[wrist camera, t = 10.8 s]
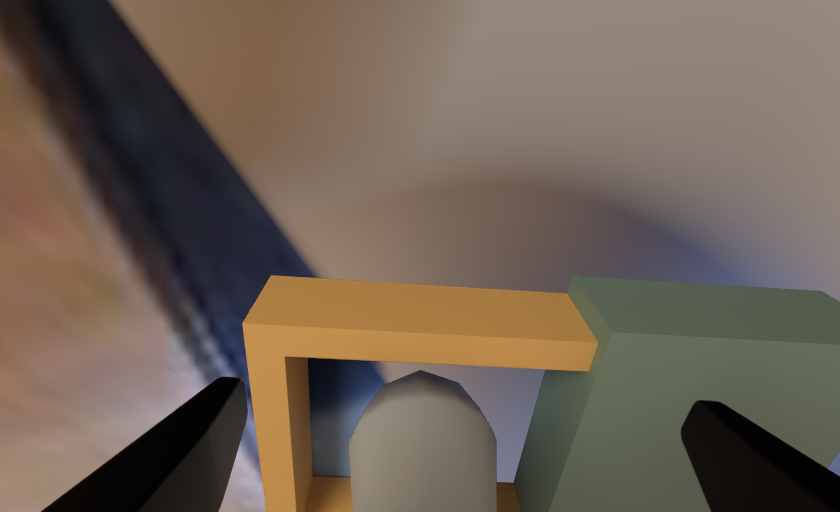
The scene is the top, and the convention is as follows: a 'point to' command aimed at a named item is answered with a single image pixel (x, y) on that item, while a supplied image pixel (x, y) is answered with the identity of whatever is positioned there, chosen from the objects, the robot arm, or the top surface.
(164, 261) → the top surface
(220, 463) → the robot arm
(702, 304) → the orange and green frame
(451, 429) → the salt shaker
